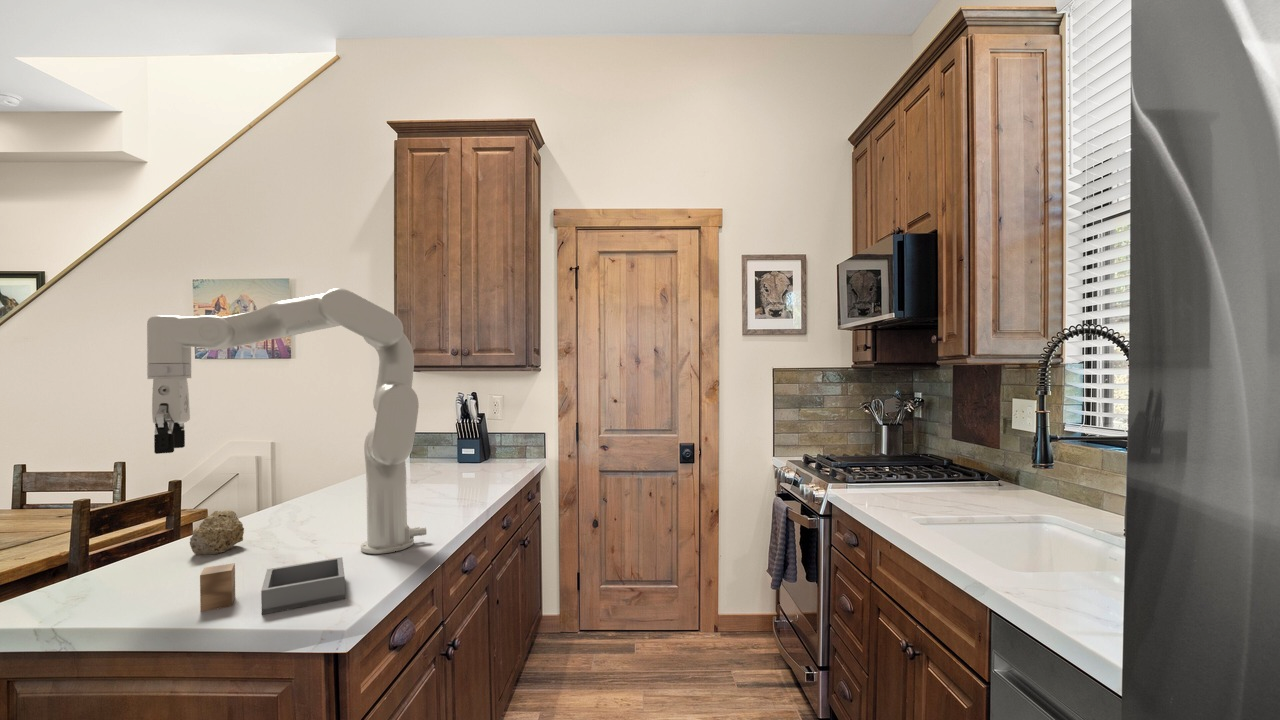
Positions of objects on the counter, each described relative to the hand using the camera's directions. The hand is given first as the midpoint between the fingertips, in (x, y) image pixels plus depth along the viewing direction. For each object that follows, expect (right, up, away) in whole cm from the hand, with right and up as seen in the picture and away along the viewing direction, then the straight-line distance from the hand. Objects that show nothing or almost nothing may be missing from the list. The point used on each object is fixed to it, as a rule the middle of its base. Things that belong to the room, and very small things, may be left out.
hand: (170, 450), depth 127 cm
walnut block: (+19, -29, -12) cm, 37 cm away
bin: (+34, -28, -8) cm, 45 cm away
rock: (-8, -30, +23) cm, 39 cm away
